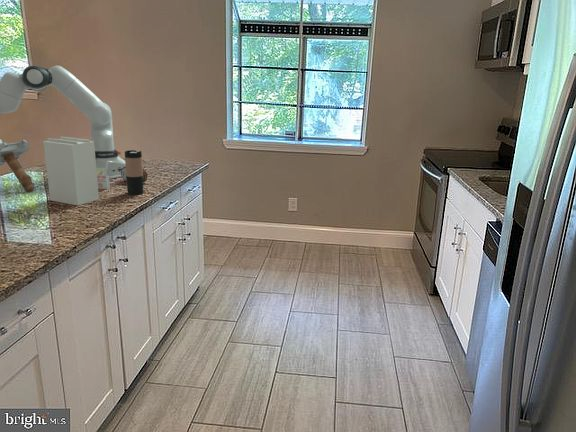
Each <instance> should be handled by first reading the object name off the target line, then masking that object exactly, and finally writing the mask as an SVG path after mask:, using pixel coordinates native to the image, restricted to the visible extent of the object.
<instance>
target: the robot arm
mask: <svg viewBox="0 0 576 432" xmlns="http://www.w3.org/2000/svg"><path fill="white" fill-rule="evenodd" d="M47 87H53V88H54V89H56V90H57V91H58V92H59V93H60V94H62V95H63V96H64V97H65V98H66V99H68V101H69V102H70V103H71V104H73V105H74V106H75V107H76V108H77V109H78V110H79V111H81V113H82V114H83V115H84V116H85V117H87V118H88V119H89V121H90V122H89V123H90V141H93V142H94V147H95V158H96V168H102V169H107V170H108V174H109V180H111V179H116V178H122V176H121V169H122V168H123V167H126V166H125V159H123V158H122V157H120V156H119V155H121V153H122V152H121V151H120V150H117V149H115V142H114V128H113V115H112V113H113V111H112V109H111V107H110V106H109V104H107V103H105V102H104V101H102V100H101V99H100V98H99V97H98V96H97V95H96V94H95V93H94V92H92V90H90V88H88V87H87V86H86V85H85V84H84V83H83V82H82V81H81V80H80V79H78V77H76V76H75V75H74V74H73V73H72V72H70V71H69V70H67V69H66V68H65V67H63V66H61V65H54V66H51V67H50V68H49V69H48V68H44V67H41V66H37V65H29V66H27V67H25V69H24V70H23V71H22V73H21V74H19V73H16V72H13V71H11V72H5V73H4V74H3V75H2V77H1V78H0V114H2V115H3V114H11V113H14V112H16V111H18V108H19V107H20V104H21V102H22V99H23V97H24V94H25V92H26V91H35V92H38V91H43V90H45V89H46V88H47ZM30 148H31V147H30V145H29V143H28V142H27V140H26V139H22V140H21V141H17V142H11V143H8V142H7V141H4V140H2V139H1V138H0V167H2V166H4V165H6V164H7V162H6V161H5V159H4V158H3V157H4V156H5V155H6V154H8V153H13V154H14V156H15V157H16V159H17V160H18V159H20V158H21V156H22V155H23V154H25V153H26V152H28V150H30Z"/></svg>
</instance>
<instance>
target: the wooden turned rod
mask: <svg viewBox="0 0 576 432" xmlns="http://www.w3.org/2000/svg"><path fill="white" fill-rule="evenodd" d="M3 158H4V159H5V161H6V162H7V163H6V164H7V165H8V167H9V168H10V170H11V171H12V173H13V175H14V176H15V177H16V179H17V181H18V183H19V184H20V185H21V186H22V188H23V189H24V190H25V192H29V193H30V192H32V191H34V190H35V185H34V183H33V182H32V177H31V176H30V175H29V174H28V173H27V172H26V171H25V169H24V168H23V166H22V165H21V162H19V160H18V159H16V157H15V156H14V154H13V153H8V154H6V155H5V156H4V157H3Z"/></svg>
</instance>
